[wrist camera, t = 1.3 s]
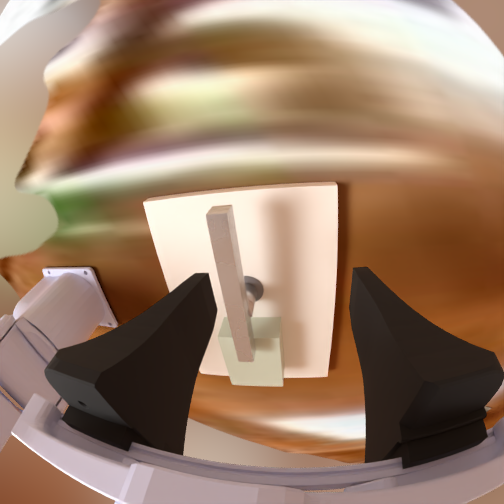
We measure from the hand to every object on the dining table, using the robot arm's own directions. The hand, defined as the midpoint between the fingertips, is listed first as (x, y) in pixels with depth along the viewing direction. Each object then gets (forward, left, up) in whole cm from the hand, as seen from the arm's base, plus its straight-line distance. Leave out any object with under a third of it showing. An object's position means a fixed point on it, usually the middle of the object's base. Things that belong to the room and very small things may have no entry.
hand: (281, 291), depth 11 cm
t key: (-4, -4, -8) cm, 10 cm away
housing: (-4, -8, -9) cm, 13 cm away
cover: (-4, -12, -8) cm, 15 cm away
